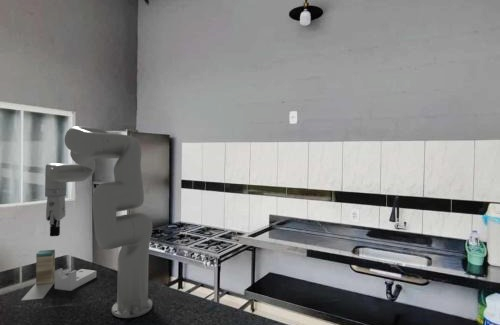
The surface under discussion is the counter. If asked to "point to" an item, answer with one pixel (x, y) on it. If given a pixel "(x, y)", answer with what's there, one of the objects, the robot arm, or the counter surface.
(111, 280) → the counter surface
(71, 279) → the bracket
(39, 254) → the maple block
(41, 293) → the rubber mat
